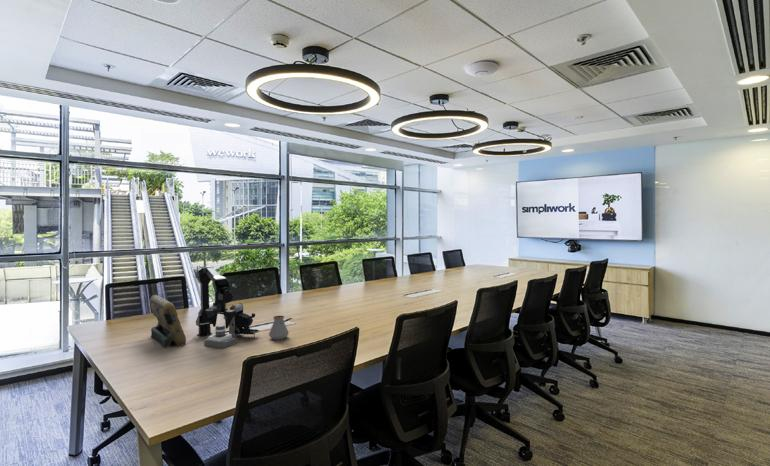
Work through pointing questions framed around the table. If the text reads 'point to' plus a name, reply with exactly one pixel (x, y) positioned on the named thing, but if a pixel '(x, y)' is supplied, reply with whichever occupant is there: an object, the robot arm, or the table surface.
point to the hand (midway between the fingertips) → (220, 327)
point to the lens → (220, 331)
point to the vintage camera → (241, 322)
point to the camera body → (220, 341)
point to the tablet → (166, 323)
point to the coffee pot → (279, 328)
